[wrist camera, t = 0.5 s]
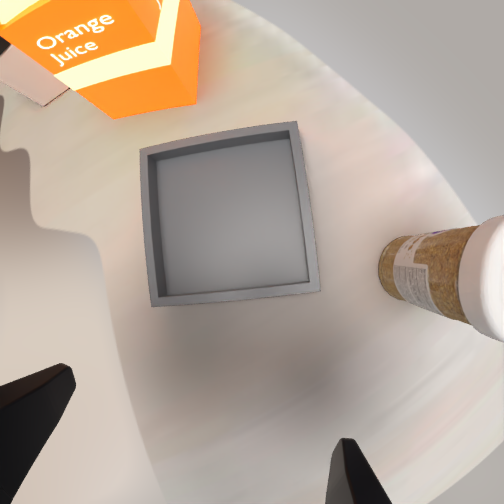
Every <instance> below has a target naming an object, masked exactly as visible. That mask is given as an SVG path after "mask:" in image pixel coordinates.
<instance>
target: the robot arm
mask: <svg viewBox="0 0 504 504" xmlns="http://www.w3.org/2000/svg"><path fill="white" fill-rule="evenodd" d="M75 388H76V382H75V378H74V375H73V372H72V369H71V367H70V366H67V365H65V364H63V363H59V364H57V365H54V366H52V367H49V368H46V369H44V370H41V371H39V372H36V373H34V374H31V375H28V376H26V377H23V378H20V379H18V380H15V381H13V382H10V383H7V384H5V385H2V386H0V504H11V502H12V500H13V498H14V496H15V494H16V493H17V491H18V489H19V487H20V485H21V484H22V482H23V480H24V478H25V477H26V475H27V473H28V471H29V470H30V468H31V466H32V465H33V463H34V461H35V460H36V458H37V456H38V455H39V453H40V451H41V450H42V448H43V446H44V445H45V443H46V441H47V440H48V438H49V436H50V435H51V434H52V432H53V430H54V429H55V427H56V426H57V424H58V422H59V420H60V418H61V417H62V415H63V413H64V410H65V408H66V406H67V404H68V402H69V400H70V398H71V396H72V394H73V392H74V390H75ZM325 504H392V502H391V501H390V499H389V497H388V496H387V494H386V492H385V491H384V489H383V487H382V485H381V484H380V482H379V480H378V479H377V477H376V475H375V473H374V472H373V470H372V468H371V467H370V465H369V463H368V462H367V460H366V458H365V456H364V455H363V453H362V451H361V450H360V448H359V446H358V444H357V443H356V441H355V440H354V439H351V438H341V439H340V440H339V442H338V444H337V446H336V448H335V449H334V451H333V453H332V457H331V464H330V472H329V479H328V486H327V492H326V502H325Z"/></svg>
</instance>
